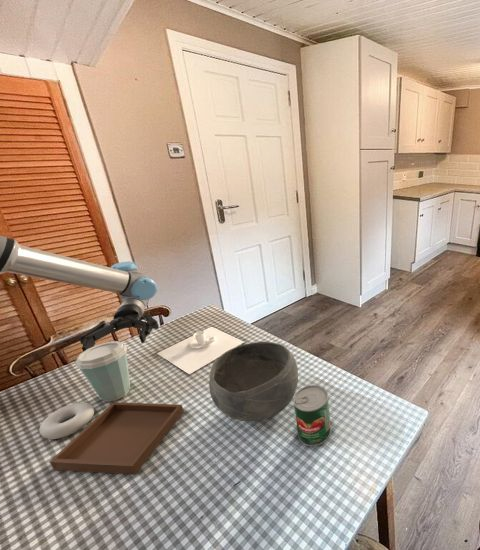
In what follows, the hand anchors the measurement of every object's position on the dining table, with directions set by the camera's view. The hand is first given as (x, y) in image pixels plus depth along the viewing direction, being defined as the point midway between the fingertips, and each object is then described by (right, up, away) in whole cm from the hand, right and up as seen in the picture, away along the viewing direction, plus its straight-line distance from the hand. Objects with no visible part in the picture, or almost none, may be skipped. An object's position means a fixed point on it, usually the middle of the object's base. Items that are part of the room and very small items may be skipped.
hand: (114, 345), depth 90 cm
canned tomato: (+62, -17, -16) cm, 67 cm away
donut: (0, -17, -13) cm, 22 cm away
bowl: (+47, -15, -9) cm, 50 cm away
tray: (+17, -18, -17) cm, 30 cm away
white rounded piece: (+17, -5, +16) cm, 24 cm away
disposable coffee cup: (+4, -13, -3) cm, 14 cm away
